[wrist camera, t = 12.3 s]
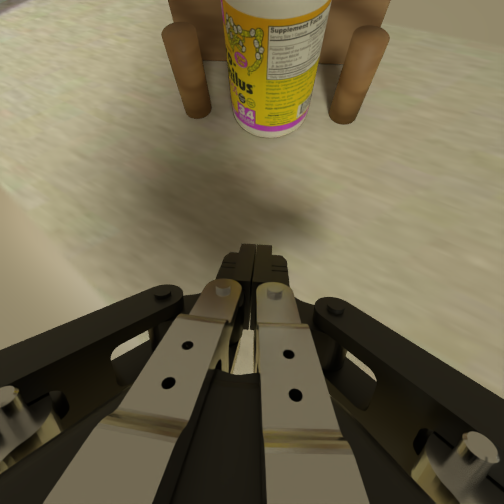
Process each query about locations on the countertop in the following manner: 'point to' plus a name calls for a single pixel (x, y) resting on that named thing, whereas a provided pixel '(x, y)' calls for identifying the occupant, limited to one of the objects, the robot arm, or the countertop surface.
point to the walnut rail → (335, 37)
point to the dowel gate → (348, 88)
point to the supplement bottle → (273, 60)
